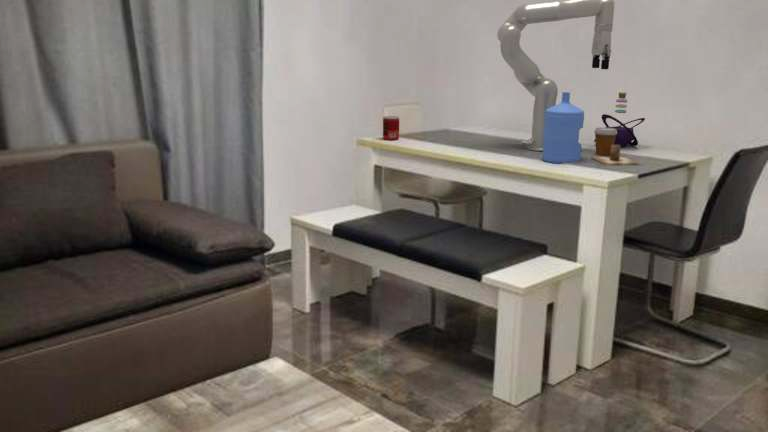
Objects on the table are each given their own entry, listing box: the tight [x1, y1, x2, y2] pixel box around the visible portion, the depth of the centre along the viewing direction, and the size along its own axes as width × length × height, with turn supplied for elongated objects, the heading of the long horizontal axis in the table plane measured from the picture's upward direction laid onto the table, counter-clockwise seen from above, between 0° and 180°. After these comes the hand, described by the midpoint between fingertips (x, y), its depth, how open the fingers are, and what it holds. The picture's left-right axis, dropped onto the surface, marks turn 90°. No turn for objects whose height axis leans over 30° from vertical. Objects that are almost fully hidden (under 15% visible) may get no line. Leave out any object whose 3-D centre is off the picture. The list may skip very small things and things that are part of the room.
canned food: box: [382, 115, 400, 142], centre depth 351 cm, size 8×8×11 cm
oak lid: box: [590, 145, 639, 165], centre depth 292 cm, size 14×14×7 cm
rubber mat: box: [586, 158, 645, 167], centre depth 293 cm, size 18×16×1 cm
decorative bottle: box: [593, 91, 646, 148], centre depth 336 cm, size 22×21×25 cm
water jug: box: [541, 91, 585, 165], centre depth 297 cm, size 16×16×28 cm
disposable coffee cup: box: [593, 127, 618, 157], centre depth 310 cm, size 10×10×12 cm
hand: (600, 68), depth 320 cm, fingers open, 9 cm apart
